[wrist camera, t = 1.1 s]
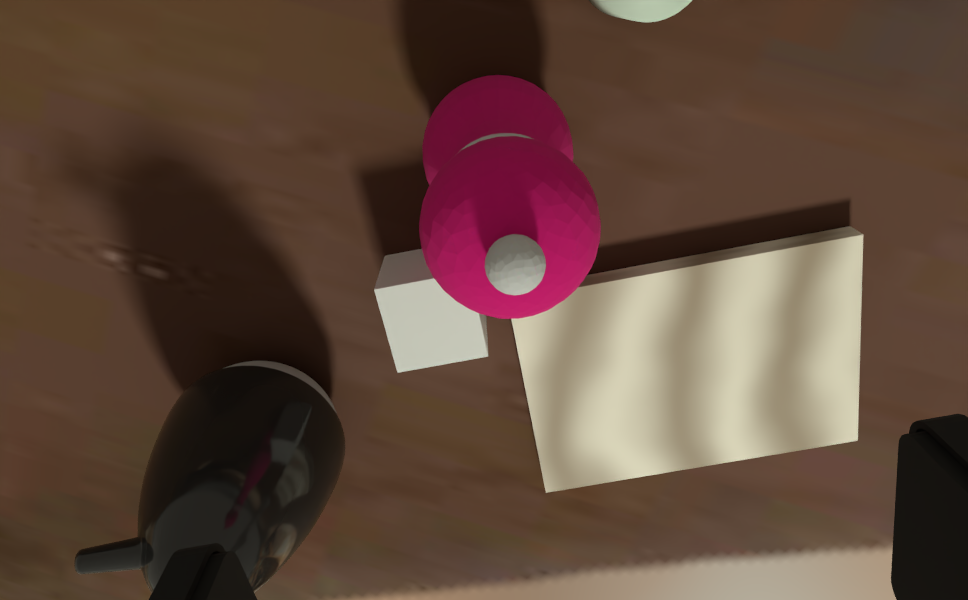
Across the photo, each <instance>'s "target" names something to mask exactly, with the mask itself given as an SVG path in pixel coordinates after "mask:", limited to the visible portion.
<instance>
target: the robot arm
mask: <svg viewBox="0 0 968 600" xmlns="http://www.w3.org/2000/svg"><path fill="white" fill-rule="evenodd" d="M891 583H892V587H893V591H894V594H895V597H896V599H897V600H968V417H966V416H965V415H961V414H954V415H948V416H943V417H937V418H931V419H925V420H920V421H916V422H914V423H913V424H912V425H911V427H910V431H909V434H904V435H902V436H901V438H900V440H899V447H898V465H897V483H896V500H895V518H894V536H893V554H892V572H891ZM149 600H257V598H256V596H255V594H254V592H253V589H252V587H251V585H250V583H249V580H248V578H247V576H246V574H245V572H244V569H243V567H242V565H241V563H240V560H239V558H238V556H237V555H236V553H234V552H233V551H228V552H226V551H225V549H224V547H223V546H222V545H220V544H219V543H213V544H207V545H201V546H196V547H190V548H184V549H179V550H177V551H176V552H174V553H173V555H172V556H171V558H170V559H169V561H168V563H167V565H166V567H165V569H164V571H163V573H162V575H161V577H160V579H159V581H158V583H157V585H156V586H155V588H154V590H153V592H152V594H151V596H150V598H149Z"/></svg>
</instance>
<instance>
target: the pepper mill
mask: <svg viewBox="0 0 968 600" xmlns="http://www.w3.org/2000/svg"><path fill="white" fill-rule="evenodd" d="M423 164H424V169H425V174H426V179H427V181H428V183H429V185H430V186H429V187H428V189H427V192H426V194H425V197H424V200H423V203H422V209H421V215H420V221H419V234H420V241H421V247H422V251H423V255H424V258H425V261H426V264H427V266H428V268H429V270H430V272H431V274H432V276H433V278H434V279H435V280H436V281H437V283H438V284H439V285H440V286H441V288H442V289H443V290H444V291H445V292H446V293H447V294H448V295H450V296H451V297H452V298H453V299H454V300H456V301H457V302H458V303H460V304H462V305H463V306H465V307H467V308H468V309H470V310H472V311H475V312H477V313H479V314H483V315H487V316H492V317H496V318H501V319H519V318H524V317H529V316H534V315H537V314H539V313H542V312H545V311H547V310H549V309H551V308H553V307H554V306H556V305H557V304H559V303H561V302H562V301H564V300H565V299H566V298H567V297H568V296H570V295H571V294H572V293H573V292H574V291H575V290H576V289H577V288H578V286H579V285H580V284H581V283H582V282H583V280H584V279H585V277H586V276H587V274H588V272H589V271H590V269H591V268H592V265H593V263H594V261H595V258H596V254H597V250H598V246H599V242H600V232H601V222H600V216H599V209H598V204H597V201H596V197H595V194H594V191H593V189H592V187H591V185H590V183H589V181H588V180H587V178H586V176H585V175H584V173H583V172H582V171H581V170H580V169H579V168H578V167H577V166H576V165H575V164H574V163H573V145H572V138H571V134H570V130H569V126H568V124H567V121H566V119H565V117H564V115H563V112H562V111H561V109H560V108H559V106H558V105H557V103H556V102H555V101H554V100H553V99H552V98H551V97H550V96H549V95H548V94H547V93H546V92H544V91H543V90H542V89H540V88H539V87H538V86H536V85H535V84H533V83H530V82H528V81H526V80H523V79H521V78H517V77H512V76H506V75H490V76H483V77H480V78H476V79H473V80H470V81H468V82H466V83H463V84H462V85H460V86H458V87H457V88H455V89H454V90H452V91H451V92H450V93H449V94H448V95H447V96H446V97H444V98H443V99H442V101H441V102H440V103H439V105H438V106H437V107H436V108H435V110H434V112H433V114H432V115H431V117H430V119H429V121H428V124H427V127H426V130H425V134H424V140H423Z"/></svg>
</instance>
